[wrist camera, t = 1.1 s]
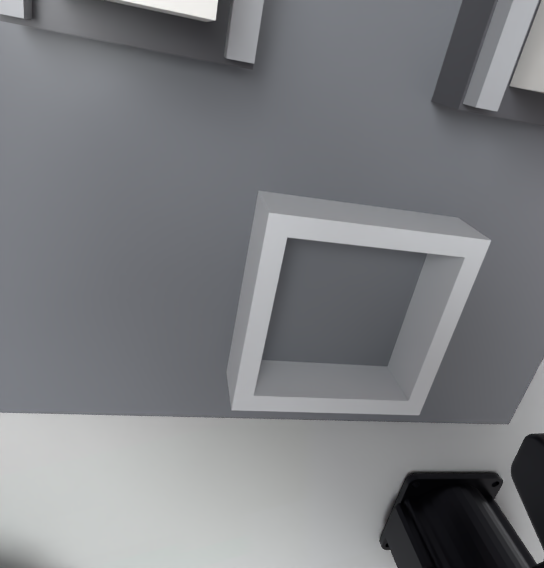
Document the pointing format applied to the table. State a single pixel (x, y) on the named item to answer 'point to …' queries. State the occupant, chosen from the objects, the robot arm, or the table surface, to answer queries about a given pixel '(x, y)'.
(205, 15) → the toggle
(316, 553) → the table surface
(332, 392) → the panel
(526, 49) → the toggle
